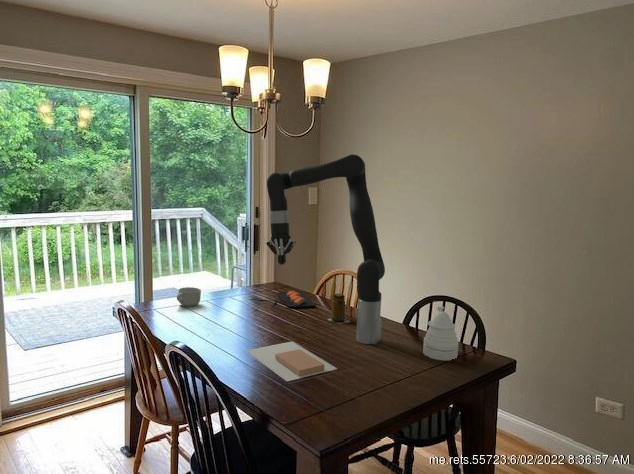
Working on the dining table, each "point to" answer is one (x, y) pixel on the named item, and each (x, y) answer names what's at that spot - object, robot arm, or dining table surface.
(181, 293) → the teacup
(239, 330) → the dining table surface
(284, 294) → the sushi plate
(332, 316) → the condiment
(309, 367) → the tile
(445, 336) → the honey pot
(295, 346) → the mat
